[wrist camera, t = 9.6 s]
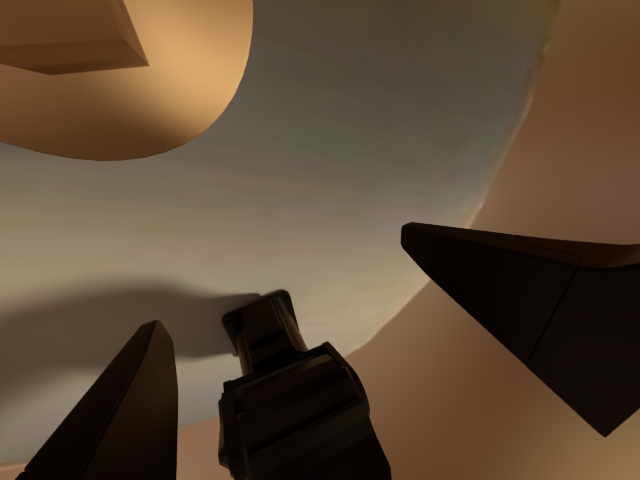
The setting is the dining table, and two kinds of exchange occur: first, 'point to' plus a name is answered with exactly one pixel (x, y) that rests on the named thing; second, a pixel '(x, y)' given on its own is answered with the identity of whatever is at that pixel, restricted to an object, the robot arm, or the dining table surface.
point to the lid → (117, 73)
